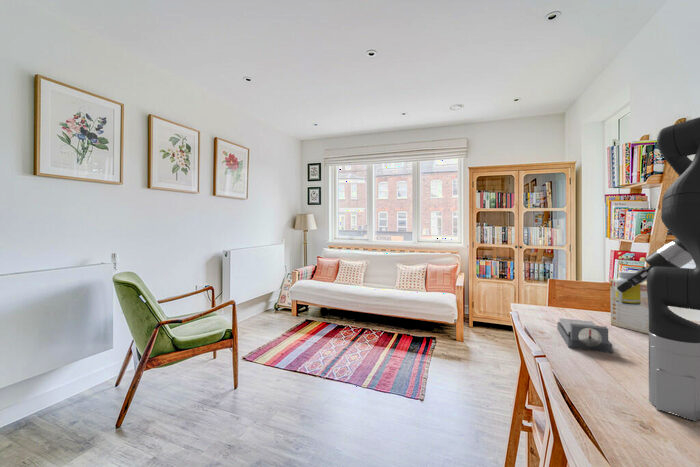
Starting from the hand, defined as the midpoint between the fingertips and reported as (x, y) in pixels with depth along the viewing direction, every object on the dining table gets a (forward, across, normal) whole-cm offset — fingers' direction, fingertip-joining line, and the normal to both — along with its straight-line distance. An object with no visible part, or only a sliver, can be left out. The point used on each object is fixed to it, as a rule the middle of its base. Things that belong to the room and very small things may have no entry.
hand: (621, 288), depth 106 cm
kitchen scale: (+21, +6, +7) cm, 23 cm away
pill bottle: (+3, 0, +5) cm, 6 cm away
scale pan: (+19, +4, +4) cm, 20 cm away
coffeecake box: (+13, -24, +15) cm, 31 cm away
